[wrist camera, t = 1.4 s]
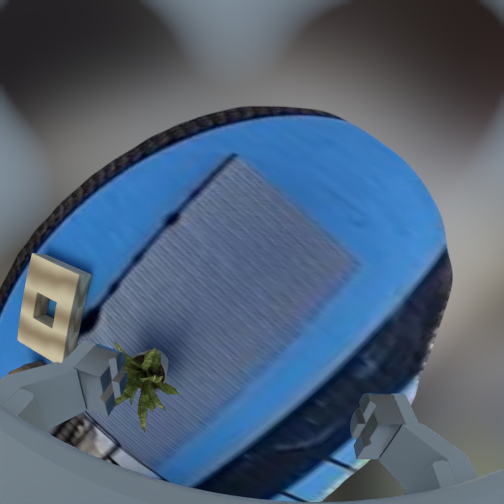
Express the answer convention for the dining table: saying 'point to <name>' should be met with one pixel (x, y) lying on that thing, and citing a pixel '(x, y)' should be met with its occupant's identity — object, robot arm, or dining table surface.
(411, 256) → the dining table surface
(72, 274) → the seat block
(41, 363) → the peg
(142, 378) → the house plant
